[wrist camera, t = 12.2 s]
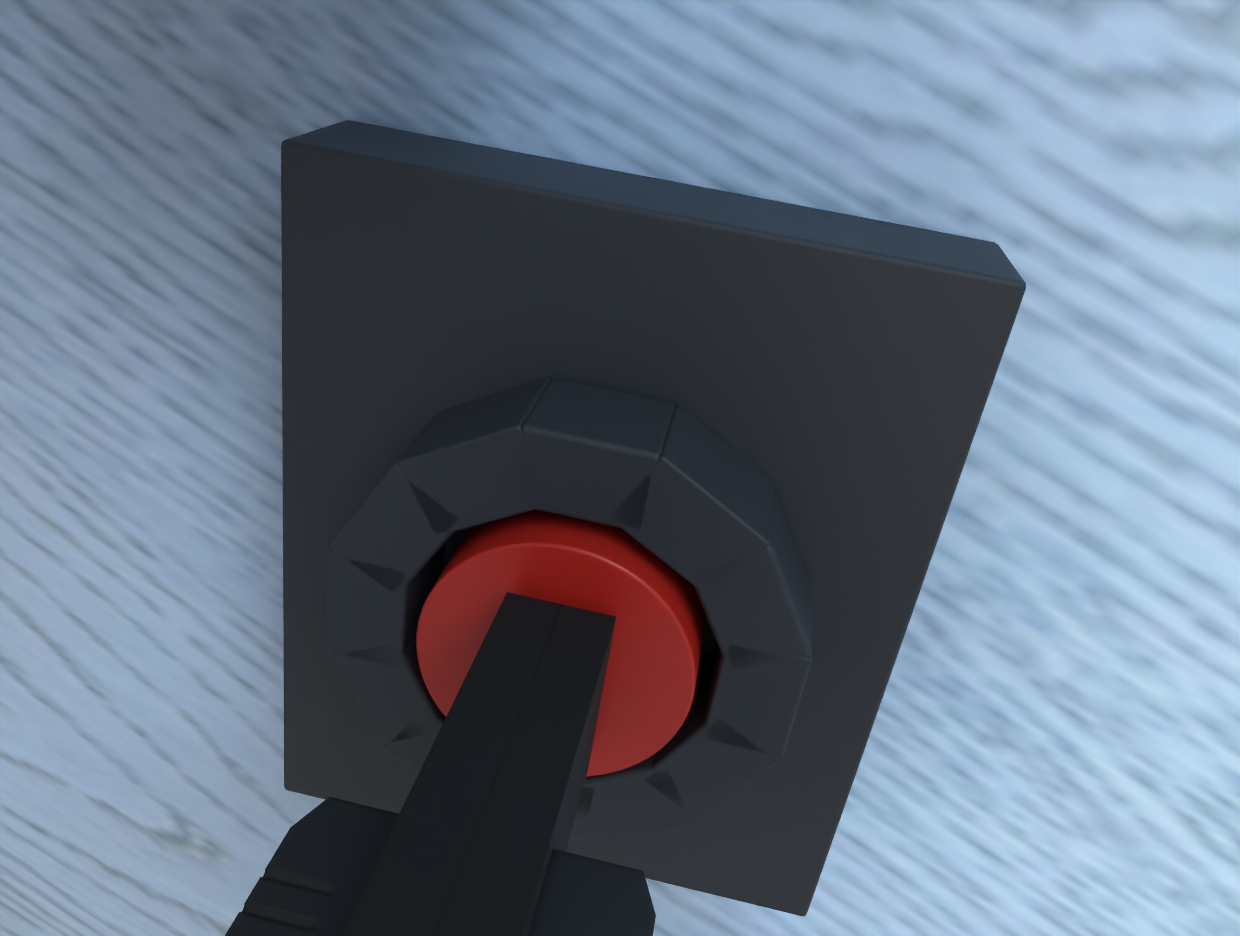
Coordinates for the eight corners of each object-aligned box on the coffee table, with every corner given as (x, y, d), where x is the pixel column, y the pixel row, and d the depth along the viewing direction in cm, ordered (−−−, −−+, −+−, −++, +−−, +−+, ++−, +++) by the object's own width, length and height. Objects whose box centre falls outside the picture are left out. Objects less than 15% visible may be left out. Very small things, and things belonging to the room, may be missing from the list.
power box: (345, 118, 15) (208, 161, 12) (1000, 242, 15) (1061, 327, 11) (331, 714, 21) (234, 865, 17) (805, 827, 20) (806, 1009, 17)
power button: (463, 458, 15) (423, 515, 13) (731, 515, 14) (722, 580, 13) (444, 671, 17) (407, 743, 15) (680, 726, 16) (668, 805, 15)
